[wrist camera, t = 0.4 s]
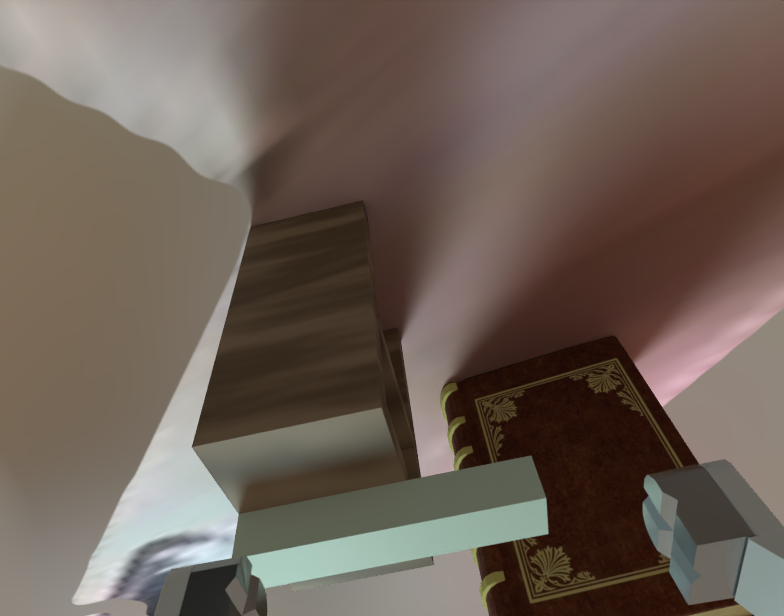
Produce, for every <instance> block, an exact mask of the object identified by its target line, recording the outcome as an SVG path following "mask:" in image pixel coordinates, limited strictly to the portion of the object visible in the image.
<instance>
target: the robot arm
mask: <svg viewBox="0 0 784 616" xmlns="http://www.w3.org/2000/svg"><path fill="white" fill-rule="evenodd" d="M644 489H645V490H646V492H647V494H648V495H649V496H648V497H647V498H646V499H645V500H644V502H643V517H644V521H645V525H646V528H647V531H648V533H649V536H650V538H651V540H652V542H653V544H654V545H655V547H656V549H657V551H659V552H660V553H662V554H663V555H665V556H667V557H668V558H670V569H669V572H670V574H671V576H672V578H673V579H674V581H675V583H676V585H677V586H678V588H679V590H680V592H681V593H682V595H683V597H684V599H685V600H686V602H687V604H688V605H692V604H698V603H705V602H711V601H717V600H723V599H730V598H735V601H736V602H737V603H739V604H740V605H741V606H743V607H744V608H745V609H746V610H748V611H749V612H750V613H752V614H753V615H754V616H784V527H783V525H782V524H781V523H780V521H779V520H778V519H777V518H776V517H775V516H774V514H773V513H772V512H771V511H770V510H769V508H768V507H767V506H766V505H765V504H764V502H763V501H762V500H761V499H760V498H759V496H758V495H757V494H756V493H755V492H754V490H753V489H752V488H751V487H750V485H749V484H748V483H747V482H746V481H745V479H743V477H742V476H741V475H740V474H739V472H738V471H737V470H736V469H735V467H734V466H733V465H732V464H731V463H730V462H728V461H726V460H725V459H724V460H717V461H712V462H708V463H703V464H699V465H696V464H694V465H690V466H685V467H681V468H676V469H671V470H667V471H662V472H657V473H653V474H648V475H647V476H646V477H645V479H644ZM251 571H252V564H251V562H250V561H249V559H248V558H247V556H242V557H236V558H231V559H225V560H220V561H214V562H208V563H203V564H196V565H191V566H186V567H181V568H176V569H171V571H170V572H169V574H168V575H167V577H166V578H165V581H164V585H163V588H162V591H161V594H160V598H159V601H158V604H157V607H156V611H155V614H154V616H267V599H266V593H265V589H264V585H263V583H262V582H261V580H260V578H258V577H256V576H254V575H252V574H251Z"/></svg>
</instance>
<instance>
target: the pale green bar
mask: <svg viewBox="0 0 784 616" xmlns="http://www.w3.org/2000/svg"><path fill="white" fill-rule="evenodd" d="M545 534H548V518H547V502H546V496H545V493H544V490H543V487H542V485H541V482H540V479H539V476H538V473H537V470H536V468H535V465H534V462H533V459H532V456H526V457H521V458H516V459H511V460H506V461H501V462H496V463H491V464H486V465H481V466H476V467H472V468H467V469H462V470H457V471H452V472H447V473H442V474H437V475H432V476H427V477H422V478H417V479H412V480H407V481H402V482H397V483H392V484H387V485H382V486H377V487H372V488H367V489H362V490H357V491H352V492H347V493H342V494H337V495H332V496H327V497H322V498H317V499H312V500H307V501H302V502H297V503H292V504H287V505H282V506H277V507H272V508H267V509H262V510H257V511H252V512H247V513H242V514H239V517H238V523H237V529H236V535H235V542H234V548H233V554H232V558H236V557H242V556H247V558H248V559H249V561H250V562H251V564H252V571H251V574H252V575H254V576H256V577H258V578H260V580H261V582H262V583H263V585H264V588H268V587H273V586H278V585H284V584H289V583H294V582H299V581H305V580H310V579H315V578H320V577H326V576H331V575H336V574H341V573H346V572H352V571H357V570H362V569H367V568H373V567H378V566H383V565H388V564H394V563H399V562H404V561H409V560H415V559H420V558H425V557H430V556H435V555H441V554H446V553H451V552H456V551H461V550H467V549H472V548H477V547H483V546H488V545H493V544H498V543H504V542H509V541H514V540H519V539H524V538H530V537H535V536H540V535H545Z"/></svg>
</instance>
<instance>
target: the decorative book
mask: <svg viewBox="0 0 784 616" xmlns="http://www.w3.org/2000/svg"><path fill="white" fill-rule="evenodd" d="M440 402H441V407H442V411H443V415H444V417H445V419H446V420H447V422H448V426H449V428H448V441H449V445H450V448H451V450H452V452H453V453H454V455H455V458H454V469H455V471H457V470H462V469H467V468H472V467H476V466H481V465H486V464H491V463H496V462H501V461H506V460H511V459H516V458H521V457H526V456H532V459H533V462H534V465H535V468H536V470H537V473H538V476H539V479H540V482H541V485H542V487H543V490H544V493H545V496H546V502H547V518H548V534H545V535H540V536H535V537H530V538H524V539H519V540H514V541H509V542H504V543H498V544H493V545H488V546H483V547H477V548H472V549H471V551H472V555H473V559H474V562H475V563H476V564H477V566H478V567H479V570H480V575H481V579H482V582H481V586H480V594H481V599H482V602H483V606H484V607H485V609H486V610H487V611H488V612H489V616H754V615H753V614H752V613H750V612H749V611H748V610H746V609H745V608H744V607H743V606H741V605H740V604H739V603H737V602H736V601H735V598H730V599H723V600H717V601H711V602H705V603H698V604H692V605H688V604H687V602H686V600H685V599H684V597H683V595H682V593H681V592H680V590H679V588H678V586H677V585H676V583H675V581H674V579H673V578H672V576H671V574H670V572H669V569H670V558H668V557H667V556H665V555H663V554H662V553H660V552H659V551H657V549H656V547H655V545H654V544H653V542H652V540H651V538H650V536H649V533H648V531H647V528H646V525H645V521H644V517H643V502H644V500H645V499H646V498H647V497H648V496H649V495H648V494H647V492H646V490H645V489H644V479H645V477H646V476H647V475H648V474H653V473H657V472H662V471H667V470H671V469H676V468H681V467H685V466H690V465H694V464H696V465H699V463H698V462H697V460H696V459H695V457H694V456H693V454H692V452H691V451H690V449H689V448H688V446H687V445H686V443H685V442H684V440H683V439H682V437H681V435H680V434H679V432H678V431H677V429H676V428H675V426H674V425H673V423H672V422H671V420H670V418H669V417H668V415H667V414H666V412H665V411H664V409H663V408H662V406H661V405H660V403H659V401H658V400H657V398H656V397H655V395H654V394H653V392H652V391H651V389H650V388H649V386H648V384H647V383H646V381H645V380H644V378H643V377H642V375H641V374H640V372H639V371H638V369H637V367H636V366H635V364H634V363H633V361H632V360H631V358H630V357H629V355H628V354H627V352H626V351H625V349H624V348H623V346H622V345H621V344H620V342H619V341H618V339H617V338H616V337H615V336H612V337H608V338H604V339H600V340H596V341H592V342H589V343H585V344H581V345H578V346H575V347H571V348H568V349H565V350H561V351H558V352H555V353H552V354H548V355H545V356H542V357H538V358H535V359H532V360H529V361H525V362H522V363H519V364H515V365H512V366H509V367H506V368H502V369H499V370H496V371H492V372H489V373H486V374H483V375H479V376H476V377H473V378H469V379H466V380H465V381H464V382H463V383H457V382H455V383H449V384H448V385H447V386H445V387H444V388H443V391H442V393H441V400H440Z"/></svg>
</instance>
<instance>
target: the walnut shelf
mask: <svg viewBox="0 0 784 616" xmlns="http://www.w3.org/2000/svg"><path fill="white" fill-rule="evenodd" d="M192 448H193V450H194V451H195V452H196V454H197V455H198V457H199V458H200V460H201V461H202V462H203V464H204V465H205V467H206V468H207V469H208V471H209V472H210V474H211V475H212V477H213V478H214V479H215V481H216V482H217V484H218V485H219V487H220V488H221V489H222V491H223V492H224V494H225V495H226V496H227V498H228V499H229V501H230V502H231V504H232V505H233V506H234V508H235V509H236V511H237V512H238V514H242V513H247V512H252V511H257V510H262V509H267V508H272V507H277V506H282V505H287V504H292V503H297V502H302V501H307V500H312V499H317V498H322V497H327V496H332V495H337V494H342V493H347V492H352V491H357V490H362V489H367V488H372V487H377V486H382V485H387V484H392V483H397V482H402V481H407V480H412V479H417V478H421V474H420V468H419V461H418V454H417V447H416V440H415V434H414V427H413V420H412V413H411V406H410V400H409V393H408V386H407V379H406V372H405V366H404V359H403V352H402V345H401V340H400V336H399V332H398V329H392V330H387V331H383V332H382V328H381V325H380V321H379V318H378V315H377V306H376V296H375V285H374V275H373V265H372V255H371V245H370V235H369V225H368V218H367V214H366V210H365V207H364V203H363V201H360V202H356V203H351V204H347V205H343V206H339V207H334V208H330V209H326V210H321V211H317V212H313V213H309V214H304V215H300V216H296V217H292V218H287V219H283V220H279V221H275V222H270V223H266V224H262V225H257V226H253V227H251V228H250V231H249V235H248V239H247V243H246V246H245V250H244V254H243V258H242V261H241V265H240V269H239V273H238V276H237V280H236V284H235V288H234V291H233V295H232V299H231V302H230V306H229V310H228V314H227V317H226V321H225V325H224V329H223V332H222V336H221V340H220V344H219V347H218V351H217V355H216V359H215V362H214V366H213V370H212V374H211V377H210V381H209V385H208V389H207V392H206V396H205V400H204V404H203V407H202V411H201V415H200V419H199V422H198V426H197V430H196V434H195V437H194V441H193V445H192ZM431 565H434V563H433V556H430V557H425V558H420V559H415V560H409V561H404V562H399V563H394V564H388V565H383V566H378V567H373V568H367V569H362V570H357V571H352V572H346V573H341V574H336V575H331V576H326V577H320V578H315V579H310V580H305V581H299V582H294V583H289V584H288V585H289V586H290V587H291V589H292V590H293V591H299V590H304V589H310V588H315V587H320V586H325V585H331V584H336V583H341V582H346V581H352V580H357V579H362V578H367V577H372V576H378V575H383V574H388V573H394V572H399V571H404V570H410V569H415V568H420V567H425V566H431Z"/></svg>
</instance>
